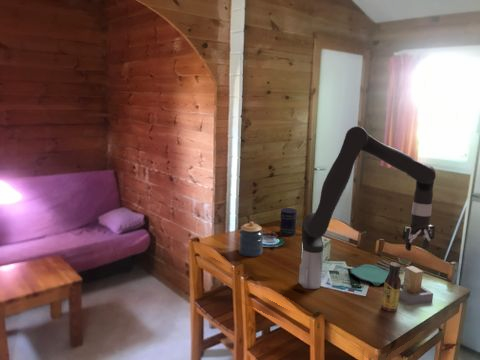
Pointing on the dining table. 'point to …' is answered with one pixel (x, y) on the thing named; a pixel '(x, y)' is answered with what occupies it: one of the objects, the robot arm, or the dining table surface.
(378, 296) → the dining table surface
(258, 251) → the canister
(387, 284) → the sauce bottle
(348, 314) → the dining table surface
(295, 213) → the storage jar
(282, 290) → the dining table surface
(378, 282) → the teal flat sheet
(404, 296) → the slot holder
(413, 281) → the skincare box
